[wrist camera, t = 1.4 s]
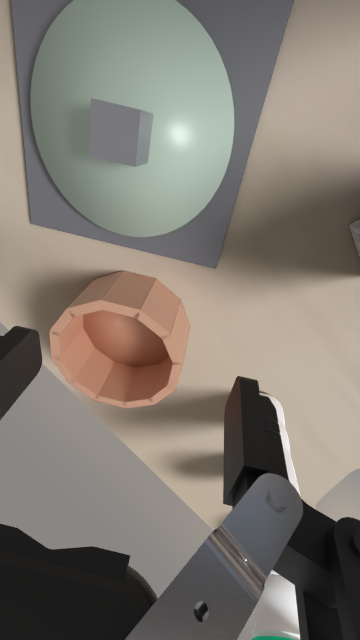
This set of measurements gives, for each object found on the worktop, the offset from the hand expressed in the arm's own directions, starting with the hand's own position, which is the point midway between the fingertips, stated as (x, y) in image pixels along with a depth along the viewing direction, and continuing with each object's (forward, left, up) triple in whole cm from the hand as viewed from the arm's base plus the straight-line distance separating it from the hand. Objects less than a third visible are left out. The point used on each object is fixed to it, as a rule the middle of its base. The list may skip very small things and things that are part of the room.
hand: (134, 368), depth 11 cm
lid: (-7, -7, -20) cm, 22 cm away
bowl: (+13, -5, -21) cm, 25 cm away
